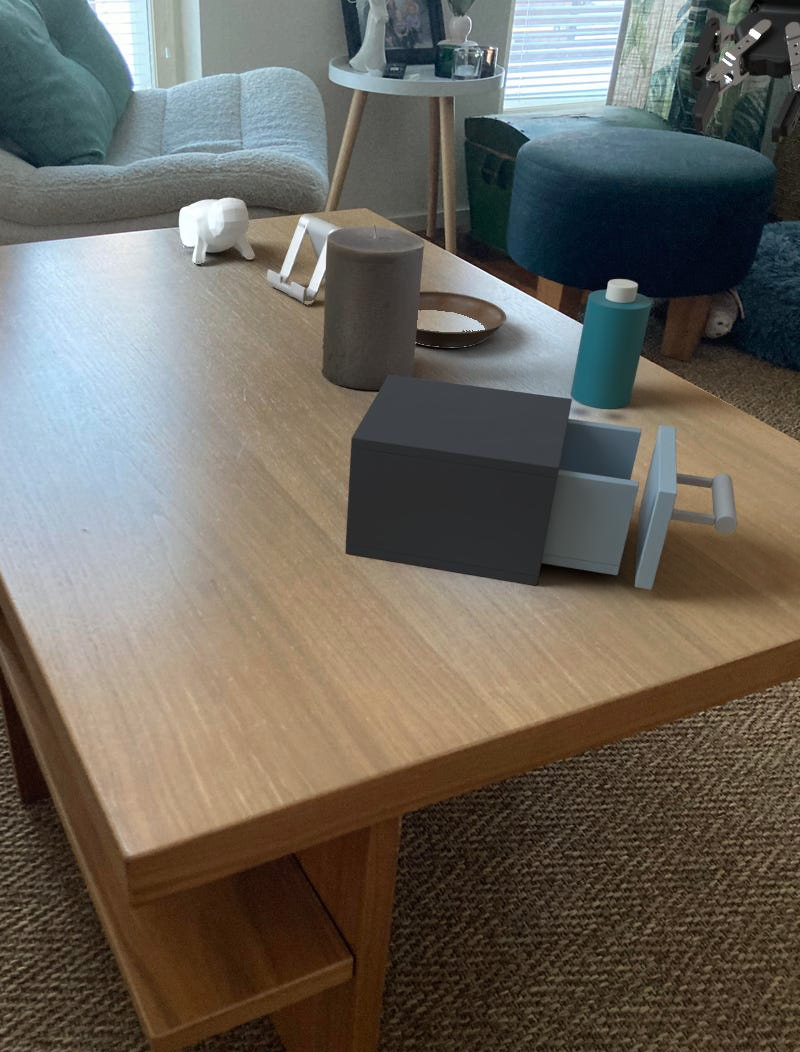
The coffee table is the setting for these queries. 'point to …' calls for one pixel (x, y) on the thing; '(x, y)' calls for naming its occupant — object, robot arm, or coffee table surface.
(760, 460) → the coffee table surface
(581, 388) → the detergent bottle
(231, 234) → the white animal figurine
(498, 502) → the drawer casing
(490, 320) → the saucer
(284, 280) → the tablet stand
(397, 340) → the pillar candle
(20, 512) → the coffee table surface
